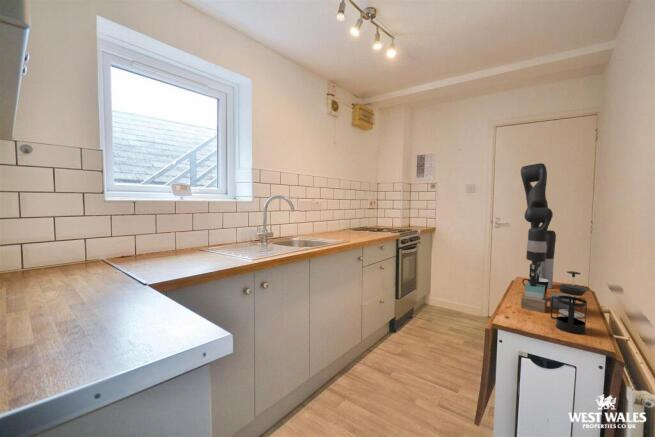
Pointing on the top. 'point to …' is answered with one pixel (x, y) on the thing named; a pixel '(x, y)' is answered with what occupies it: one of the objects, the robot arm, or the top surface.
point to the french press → (571, 308)
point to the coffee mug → (541, 281)
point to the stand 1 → (534, 304)
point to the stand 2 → (560, 305)
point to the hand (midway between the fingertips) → (534, 284)
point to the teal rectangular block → (535, 291)
